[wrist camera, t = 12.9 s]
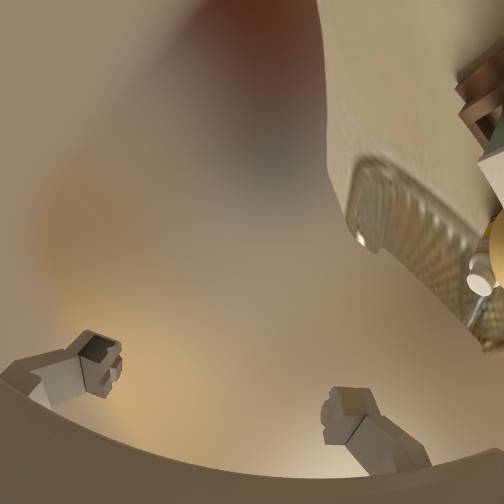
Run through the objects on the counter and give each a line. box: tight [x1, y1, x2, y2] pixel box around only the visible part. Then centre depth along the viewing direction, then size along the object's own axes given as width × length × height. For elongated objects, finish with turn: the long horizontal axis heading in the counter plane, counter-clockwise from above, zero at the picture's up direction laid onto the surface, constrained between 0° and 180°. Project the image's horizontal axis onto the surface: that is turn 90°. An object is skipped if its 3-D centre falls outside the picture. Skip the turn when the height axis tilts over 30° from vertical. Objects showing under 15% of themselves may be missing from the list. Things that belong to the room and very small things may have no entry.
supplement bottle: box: [467, 217, 500, 296], centre depth 27 cm, size 6×6×10 cm
